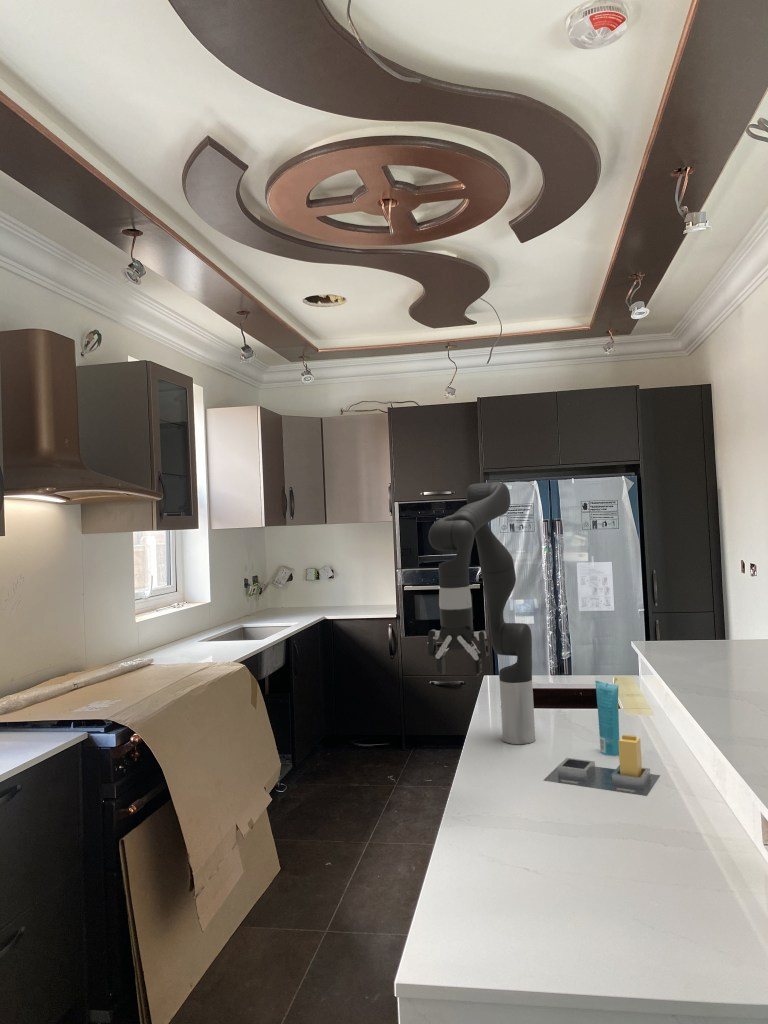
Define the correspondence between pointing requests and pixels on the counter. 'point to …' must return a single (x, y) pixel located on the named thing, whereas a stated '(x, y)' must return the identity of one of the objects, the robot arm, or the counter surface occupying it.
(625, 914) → the counter surface
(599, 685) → the tube
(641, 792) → the panel
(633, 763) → the plug
